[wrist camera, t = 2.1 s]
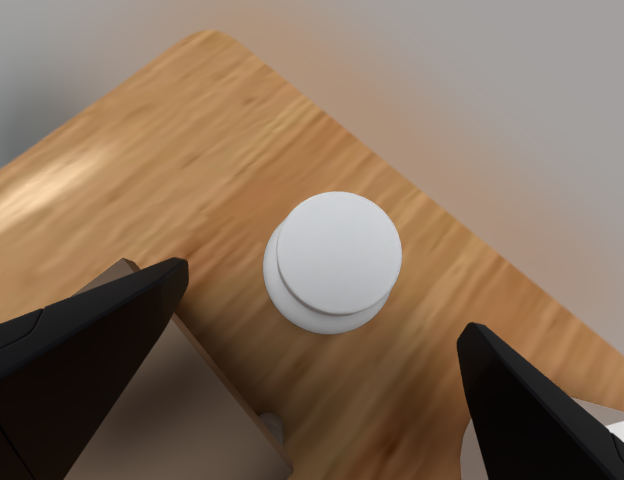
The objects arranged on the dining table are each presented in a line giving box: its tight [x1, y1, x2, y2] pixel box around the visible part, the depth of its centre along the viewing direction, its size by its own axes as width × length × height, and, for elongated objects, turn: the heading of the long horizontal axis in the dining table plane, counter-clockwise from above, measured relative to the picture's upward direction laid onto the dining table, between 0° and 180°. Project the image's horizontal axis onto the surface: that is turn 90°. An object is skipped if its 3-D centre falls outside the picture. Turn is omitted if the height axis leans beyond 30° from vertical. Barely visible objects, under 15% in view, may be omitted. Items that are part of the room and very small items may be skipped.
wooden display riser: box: [64, 258, 293, 480], centre depth 14 cm, size 12×10×4 cm
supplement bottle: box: [263, 192, 402, 334], centre depth 14 cm, size 5×5×10 cm
